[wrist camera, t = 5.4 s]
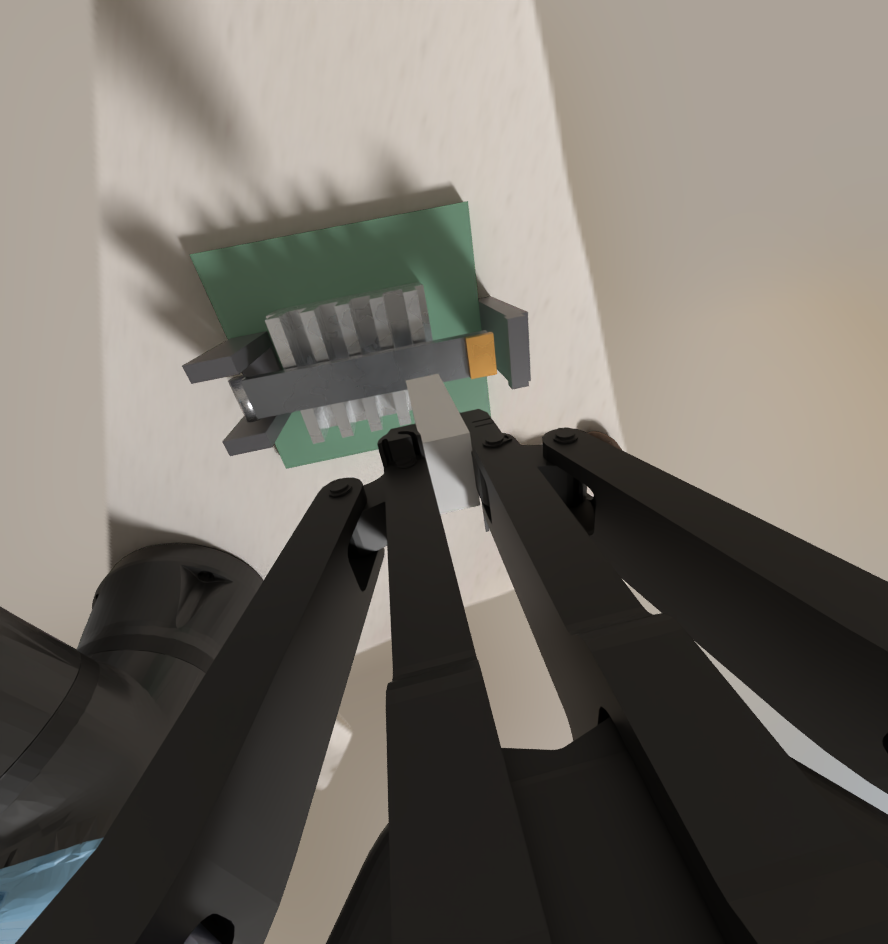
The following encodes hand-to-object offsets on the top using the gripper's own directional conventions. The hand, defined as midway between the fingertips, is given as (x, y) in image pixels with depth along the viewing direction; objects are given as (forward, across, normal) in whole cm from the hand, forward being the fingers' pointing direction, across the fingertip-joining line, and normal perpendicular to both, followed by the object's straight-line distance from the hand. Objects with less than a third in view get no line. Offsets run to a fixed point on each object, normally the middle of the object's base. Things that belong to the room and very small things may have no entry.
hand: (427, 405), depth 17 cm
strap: (+7, -3, 0) cm, 8 cm away
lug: (+14, +6, 0) cm, 15 cm away
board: (+14, -3, 0) cm, 14 cm away
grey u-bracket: (+13, -11, 0) cm, 17 cm away
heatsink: (+13, -3, 0) cm, 13 cm away
